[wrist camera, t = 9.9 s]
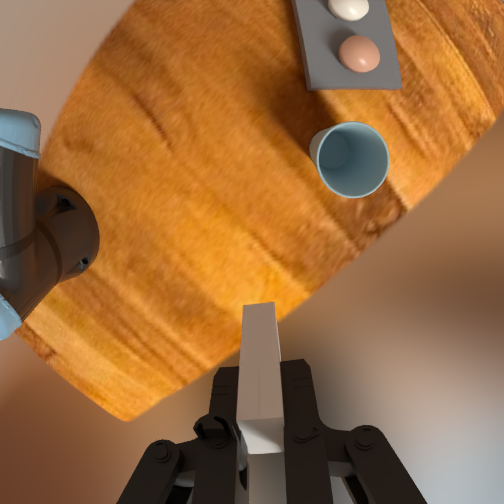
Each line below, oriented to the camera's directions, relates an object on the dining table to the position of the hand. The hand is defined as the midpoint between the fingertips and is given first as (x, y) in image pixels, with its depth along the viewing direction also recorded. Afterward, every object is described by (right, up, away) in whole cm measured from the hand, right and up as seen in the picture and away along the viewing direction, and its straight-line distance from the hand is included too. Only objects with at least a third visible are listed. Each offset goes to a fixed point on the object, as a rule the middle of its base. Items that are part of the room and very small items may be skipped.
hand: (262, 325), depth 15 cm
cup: (+10, +17, +21) cm, 29 cm away
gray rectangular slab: (+11, +34, +13) cm, 38 cm away
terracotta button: (+12, +27, +14) cm, 33 cm away
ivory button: (+11, +34, +11) cm, 37 cm away
